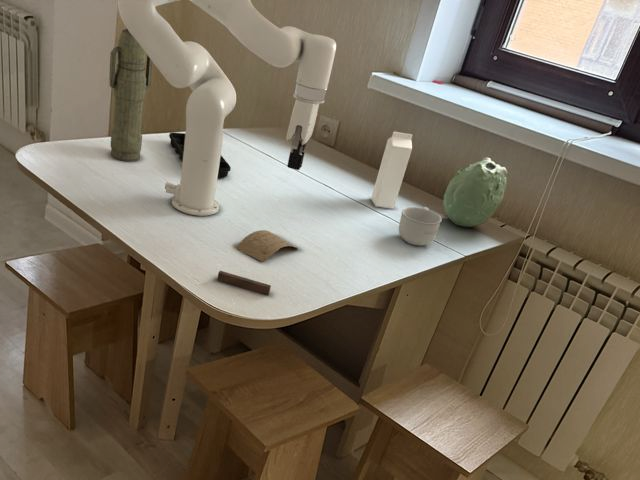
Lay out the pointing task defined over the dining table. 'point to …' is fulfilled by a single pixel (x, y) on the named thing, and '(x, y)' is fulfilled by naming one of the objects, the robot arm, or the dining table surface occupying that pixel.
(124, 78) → the thermos
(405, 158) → the milk
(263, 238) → the brown curved bark
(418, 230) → the teacup
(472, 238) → the dining table surface
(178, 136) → the egg carton
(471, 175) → the green vase
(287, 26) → the robot arm
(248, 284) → the bar
